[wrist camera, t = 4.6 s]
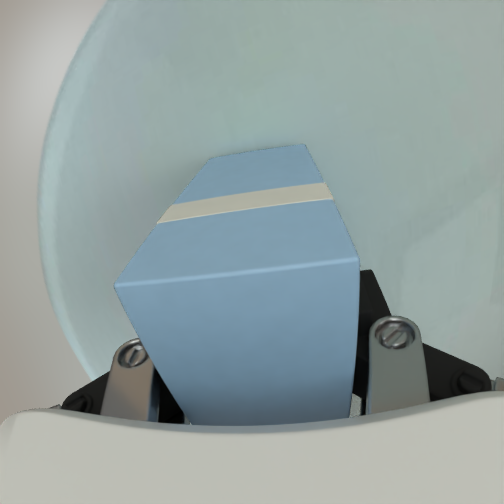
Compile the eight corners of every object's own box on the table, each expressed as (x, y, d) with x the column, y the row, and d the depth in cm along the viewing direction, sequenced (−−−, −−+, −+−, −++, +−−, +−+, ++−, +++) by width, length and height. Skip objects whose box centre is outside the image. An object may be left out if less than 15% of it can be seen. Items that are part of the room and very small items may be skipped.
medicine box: (244, 308, 17) (223, 469, 9) (208, 157, 13) (109, 284, 5) (320, 300, 16) (342, 464, 8) (305, 143, 12) (362, 256, 4)
